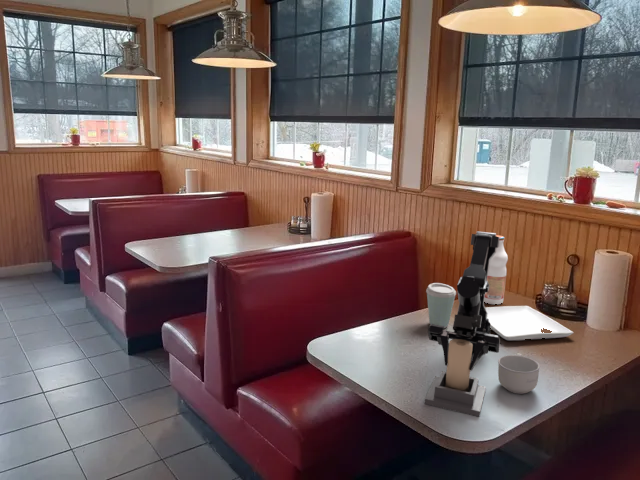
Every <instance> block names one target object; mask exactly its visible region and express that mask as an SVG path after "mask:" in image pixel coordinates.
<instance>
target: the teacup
mask: <svg viewBox="0 0 640 480" xmlns="http://www.w3.org/2000/svg"><path fill="white" fill-rule="evenodd" d="M497 363H498V368H497V369H498V370H497V371H498V372H497V374H498V382H499V383H500V384H501V386H502V387H503V388H504V389H506V390H507V391H508V392H511V393H514V394H517V395H518V394H520V395H521V394H523V395H524V394H527V393H529V392H531V391H533V390H534V389H535V388H536V387H537V385H538V382H539V381H538V380H539V372H540V367H541V366H540V364H539V362H538V361H536V359H535V360H534V359H532V358H530V357H527V356H524V355H523V354H522V353H519V352H518V353H516V354H510V355H504V356H500V358H499V359H498V361H497Z"/></svg>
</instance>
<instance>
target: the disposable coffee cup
mask: <svg viewBox="0 0 640 480" xmlns="http://www.w3.org/2000/svg"><path fill="white" fill-rule="evenodd" d="M425 290H426V291H425V293H426V297H427V298H426V299H427V309H428V320H429V321H428V322H429V324H430V325H431V324H435V325H441V326H444V329H446V328H448V326H449V324H450V318H451V316H452V315H451V314H452V310H453V307H454V302H455V298H456V295H457V291H456V290H455V288H454V287H453V286H450V285H449V284H445V283H441V282H433V283H430V284H428V286H427V287H426V289H425ZM430 325H429V326H430Z"/></svg>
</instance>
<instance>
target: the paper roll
mask: <svg viewBox="0 0 640 480" xmlns="http://www.w3.org/2000/svg"><path fill="white" fill-rule="evenodd" d="M472 347H473V344H472V343H471V342H469V341H466V340H462V339H449V351H448V362H447V366H446V372H447V373H446V384H445V387H447V388H451V389H456V390H460V391H465V392H468V387H469V377H471V371H470V365H471V361H472V358H473V354H472Z"/></svg>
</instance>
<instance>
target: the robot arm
mask: <svg viewBox="0 0 640 480" xmlns="http://www.w3.org/2000/svg"><path fill="white" fill-rule="evenodd" d="M496 235H497V233H496V232H486V231H476V233H471V237H470V238H471V239H470V246H472V254H471V255H472V256H471V259H470V264H469V266H468V267H466V268H465V269H464V271H463V274H462V276H460V277H459V280H458V283H457V285H456V289H457V291H456V292H457V298H458V302H459V303H458V308H457V313H456V314H454V319H453V325H452V330H453V331H450V330H446V329H445V328H444V326H441V325H435V324H431V325H429V326H428V328H427V329H428V330H427V334H428V339H429V340H430V341H431V342H437V344H438V345H439V346H441V347H442V351H443V358H444V359H443V360H444V366H446V367H447V362H448V351H449V342H450V340H453V339H462V340H466V341H469V342H471V343H472V344H473V347H472V357H471V365H470V372H471V371H473V369H474V367H475V366H476V364H477V363H478V362H479V360H480V358H481V357H482V356H483V355H484V354H485V355H486V354H488V353H489V352H491V353H499V352H500V346H501V344H500V343H501V338H500V337H501V336H500V335H498V334H491V329H490V325H491V324H490V322H489V319H487V315H488V313H487V311H486V309H485V308H486V306H485V303H484V299H485V294H486V292H488V290H489V286H490V285H489V284H488V283H489V282H488V281H487V276H488V269H489V261H490V259H491V258H492V257H493V256H494V254H495V253H496V248H498V247H499V239H500V237H497V236H498V235H497V236H496Z"/></svg>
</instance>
